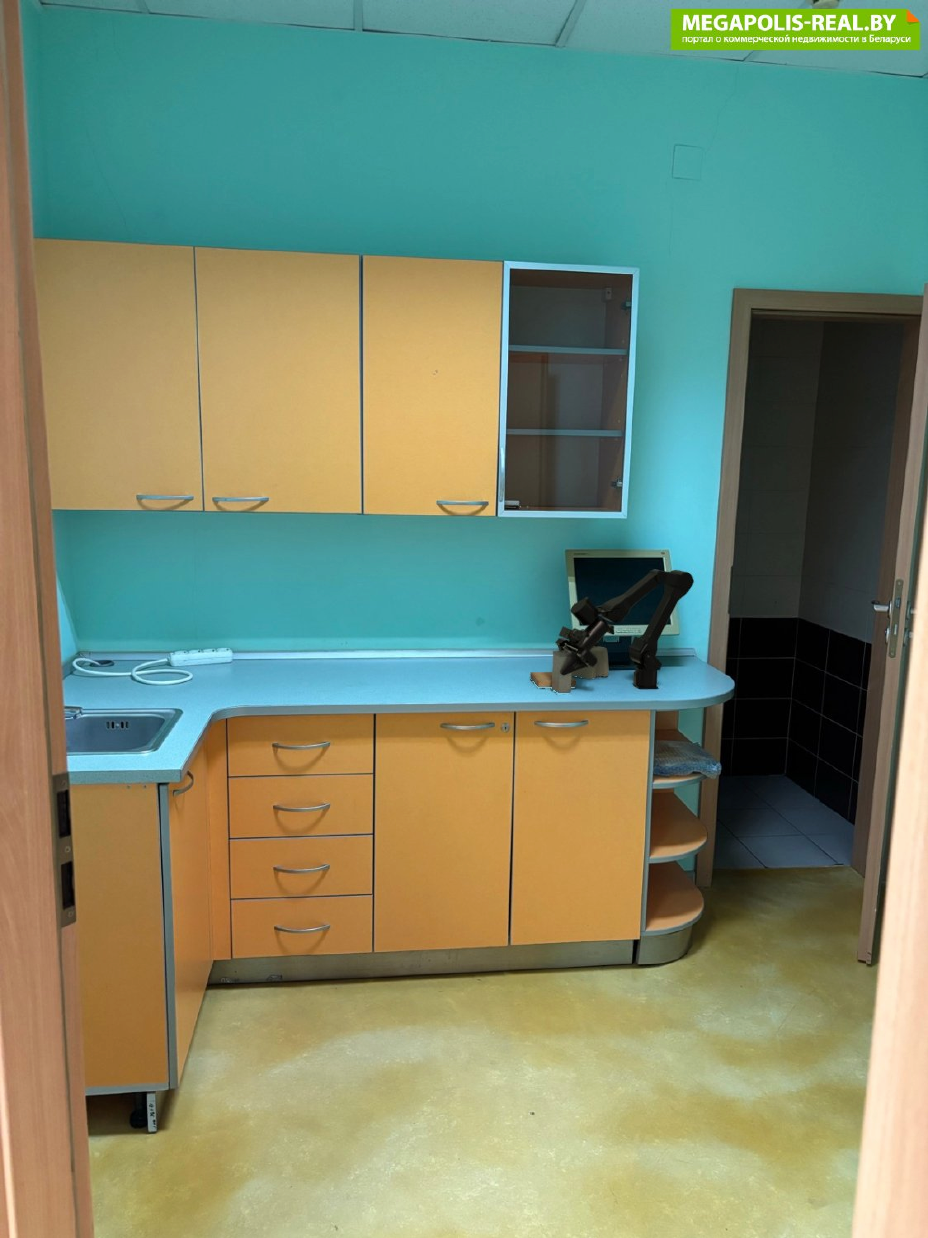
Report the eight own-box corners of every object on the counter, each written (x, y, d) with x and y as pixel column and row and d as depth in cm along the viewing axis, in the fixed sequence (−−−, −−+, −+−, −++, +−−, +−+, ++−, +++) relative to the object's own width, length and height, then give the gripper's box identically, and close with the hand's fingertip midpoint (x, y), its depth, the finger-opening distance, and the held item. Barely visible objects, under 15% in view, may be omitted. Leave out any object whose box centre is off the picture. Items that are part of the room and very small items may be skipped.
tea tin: (563, 690, 289) (565, 650, 287) (570, 694, 285) (572, 653, 282) (551, 691, 288) (552, 650, 286) (558, 695, 283) (560, 654, 281)
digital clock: (611, 677, 308) (613, 645, 306) (598, 682, 301) (599, 650, 299) (568, 669, 318) (570, 638, 316) (555, 674, 311) (556, 642, 309)
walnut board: (566, 679, 304) (566, 671, 303) (575, 688, 292) (576, 680, 292) (530, 679, 302) (530, 672, 302) (538, 689, 290) (538, 681, 290)
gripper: (562, 612, 292) (528, 648, 290) (590, 623, 275) (554, 661, 273) (583, 635, 296) (550, 671, 294) (612, 647, 279) (577, 686, 277)
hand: (557, 672), depth 285 cm, fingers open, 6 cm apart
